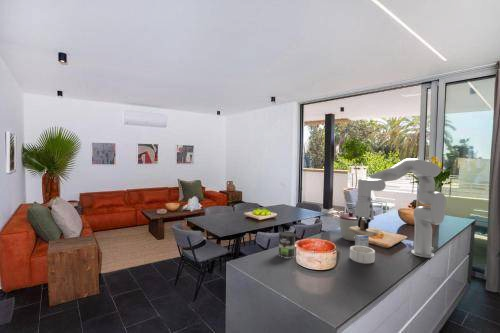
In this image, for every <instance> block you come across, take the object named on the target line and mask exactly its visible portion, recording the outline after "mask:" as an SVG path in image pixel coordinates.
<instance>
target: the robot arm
mask: <svg viewBox="0 0 500 333" xmlns="http://www.w3.org/2000/svg"><path fill="white" fill-rule="evenodd" d="M410 173H413V174H414V175H415V176H416V177H417V179H418V183H419V186H418V187H419V188H418V192H417V193H418V194H417V200H418V202H419V203H420V204H422V205H423V206H421V205H419V206H416V207H415V208H414V209H413V212H412V214H413V219H414V238H413V239H414V240H413V241H414V243H413V249H412V250H411V251H410V252H411V254H412V255H414V256H418V257H420V258H426V259H427V258H429V259H431V258H434V257H435V254H434V252H432V251H433V250H434V247H433V246H432V243H433V226H432V225H441V224H442V223H443V222H444V220H445V214H446V206H447V198H446V195H445V194H444V193H442V192H440V191H436V181H435V179H434V178H436V177H438V175H439V174H440V173H441V167H440V166H439V164H436V163H434V162H431V161H427V160H424V159H421V158H405V159H402V160H401V161H399V162H397V163H396V164H394V165H392V166H391V167H388V168H386V169H383V170H380V171H377V172H375V173H373V174H371V175H370V176H368V177H366V178H359V179H358V181H357V199H356V201H355V202H356V203H355V207H354V209H355V211H354V213H353V215H354V216H355V217H356V218H357V221H358V228H360V220H362V218H363V219H364V220H365V223H364V229H368V228H370V227H369V225H370V223H371V221H374V220H375V218H374V206H373V202H372V201H373V198H372V192H373V191H374V192H382V191H384V190H385V188H386V182H393V181H398V180H399V179H401V178H403V177H404V176H406V175H408V174H410ZM424 205H425V206H424ZM428 206H430V207H428Z"/></svg>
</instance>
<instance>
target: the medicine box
mask: <svg viewBox="0 0 500 333" xmlns="http://www.w3.org/2000/svg"><path fill="white" fill-rule="evenodd" d="M369 237H370V236H364V235H355V241H354V246H366V247H369V242H370V241H369Z"/></svg>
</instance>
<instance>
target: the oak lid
mask: <svg viewBox="0 0 500 333" xmlns="http://www.w3.org/2000/svg"><path fill="white" fill-rule="evenodd" d="M364 223H365V219H364V220H360V228H358V226H353V227H349V232H351V233H354V234H358V235H364V236H369V237H373V236H378V235H379V230H378V229H376V228H372V227H369V228H368V229H364Z"/></svg>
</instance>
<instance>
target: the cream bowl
mask: <svg viewBox="0 0 500 333" xmlns="http://www.w3.org/2000/svg"><path fill="white" fill-rule="evenodd" d="M375 255H376V250H375V249H373V248H371V247H369V246H368V247H366V246H355V245H352V246H350V247H349V259H351V261H352V262H356V263H359V264H373V263H375V261H376V260H375V258H376V256H375Z"/></svg>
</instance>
